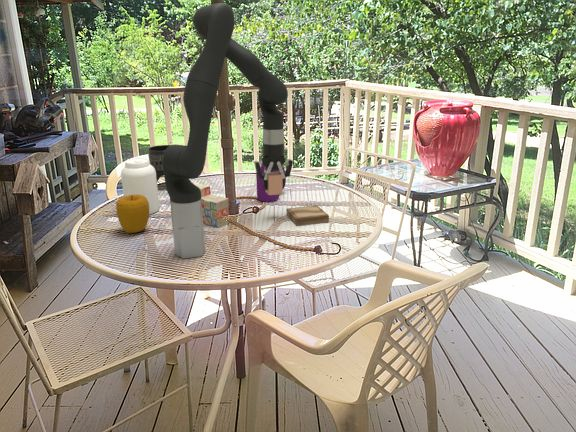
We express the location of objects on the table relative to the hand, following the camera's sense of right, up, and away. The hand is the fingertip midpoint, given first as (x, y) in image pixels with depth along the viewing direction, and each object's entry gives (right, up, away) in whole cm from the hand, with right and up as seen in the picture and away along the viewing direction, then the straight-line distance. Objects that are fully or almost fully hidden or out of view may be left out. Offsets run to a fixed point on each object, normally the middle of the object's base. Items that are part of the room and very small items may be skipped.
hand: (274, 188), depth 178 cm
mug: (-1, -2, +27) cm, 28 cm away
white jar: (-51, -8, +13) cm, 53 cm away
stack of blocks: (-26, -11, +4) cm, 29 cm away
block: (0, -1, 0) cm, 1 cm away
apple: (-47, -15, -7) cm, 50 cm away
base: (+12, -11, +3) cm, 16 cm away
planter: (-49, +3, +43) cm, 65 cm away
